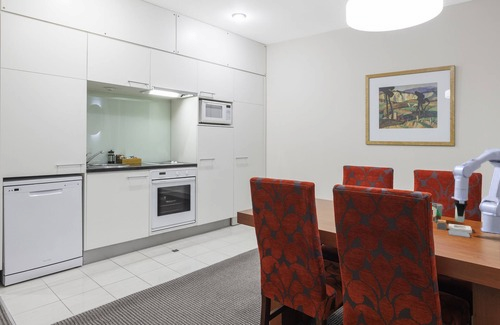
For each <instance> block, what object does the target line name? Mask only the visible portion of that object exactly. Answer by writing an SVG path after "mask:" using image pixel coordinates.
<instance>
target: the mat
mask: <svg viewBox="0 0 500 325" xmlns="http://www.w3.org/2000/svg"><path fill="white" fill-rule="evenodd" d="M447 231H448V236H455V237H462V238H463V237H464V238H471V235H470V233H467V232H459V231H451V230H449V229H447Z"/></svg>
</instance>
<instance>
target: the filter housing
mask: <svg viewBox="0 0 500 325" xmlns="http://www.w3.org/2000/svg"><path fill="white" fill-rule="evenodd" d="M447 226H448V227H447ZM447 228H448V229H447ZM436 229H437V230H442V231H448V230H451V231H459V232H467V233H469V234H472V233H473V230H472V227H471V226H470V225H462V224H453V223H448V224H447V222H446V224H439V223H438V222H437V223H436Z"/></svg>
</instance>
